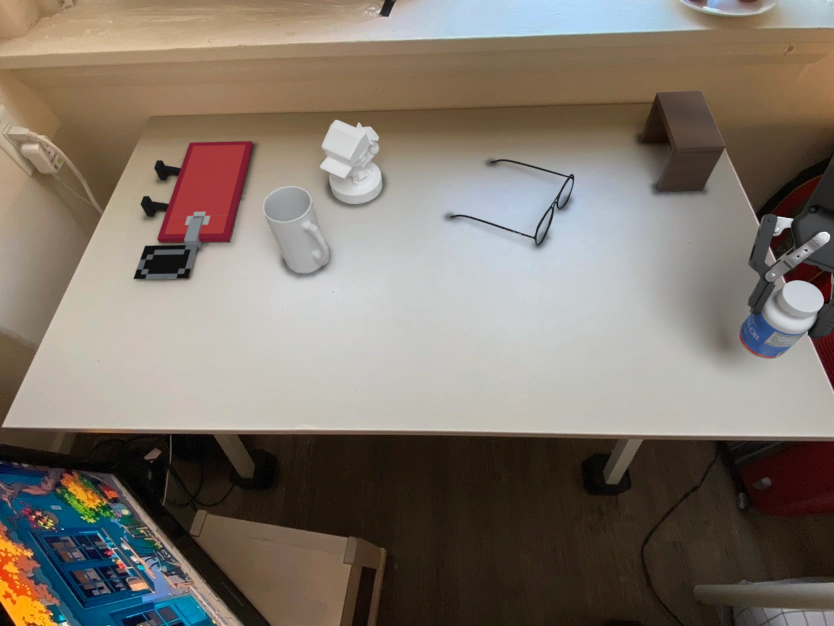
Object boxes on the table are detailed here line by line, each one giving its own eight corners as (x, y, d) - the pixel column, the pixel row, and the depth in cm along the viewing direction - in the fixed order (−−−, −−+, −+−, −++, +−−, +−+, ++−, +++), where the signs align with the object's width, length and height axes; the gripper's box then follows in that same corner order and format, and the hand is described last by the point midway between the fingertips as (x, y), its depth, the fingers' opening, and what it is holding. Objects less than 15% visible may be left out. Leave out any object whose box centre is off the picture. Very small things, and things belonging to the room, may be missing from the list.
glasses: (535, 253, 84) (536, 230, 80) (450, 225, 90) (447, 202, 86) (573, 192, 90) (576, 168, 86) (491, 169, 96) (490, 146, 92)
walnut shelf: (702, 190, 89) (725, 146, 82) (657, 192, 90) (677, 148, 82) (681, 135, 96) (701, 90, 89) (640, 137, 96) (656, 92, 89)
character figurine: (392, 179, 94) (385, 120, 84) (358, 215, 90) (347, 158, 80) (351, 160, 97) (339, 102, 87) (316, 195, 93) (300, 137, 83)
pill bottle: (733, 318, 68) (771, 271, 60) (781, 323, 68) (825, 275, 59) (739, 357, 65) (779, 313, 57) (789, 363, 65) (837, 319, 56)
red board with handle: (123, 283, 85) (221, 281, 84) (114, 271, 83) (215, 270, 82) (172, 149, 101) (254, 147, 101) (165, 136, 99) (249, 134, 98)
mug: (275, 259, 86) (252, 206, 76) (307, 233, 89) (289, 178, 79) (319, 294, 82) (300, 243, 72) (351, 266, 85) (338, 212, 75)
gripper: (802, 146, 54) (717, 302, 59) (974, 198, 50) (866, 363, 55) (788, 154, 61) (712, 294, 66) (939, 201, 57) (845, 347, 62)
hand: (782, 324), depth 60 cm, fingers closed on pill bottle, 5 cm apart
